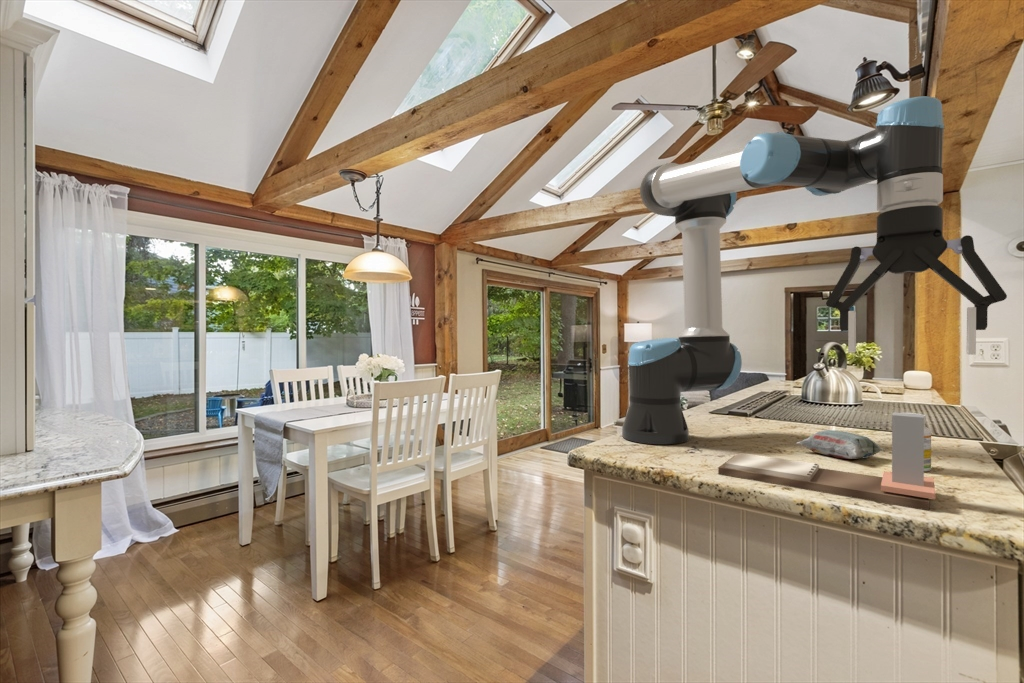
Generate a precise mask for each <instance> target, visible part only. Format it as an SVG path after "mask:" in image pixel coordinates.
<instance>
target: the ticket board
mask: <svg viewBox="0 0 1024 683" xmlns="http://www.w3.org/2000/svg"><path fill="white" fill-rule="evenodd" d="M717 470H718V473H717V474H718V475H720V476H721V475H722V476H727V477H733V478H740V479H745V480H751V481H755V482H762V483H768V484H774V485H780V486H786V487H791V488H795V489H803V490H808V491H813V492H820V493H826V494H831V495H836V496H837V495H838V496H842V497H848V498H854V499H861V500H866V501H871V502H877V503H881V504H882V503H884V504H889V505H895V506H900V507H901V506H902V507H906V508H912V509H917V510H918V509H919V510H922V511H923V510H924V511H930V499H929V498H923V497H917V496H910V495H904V494H898V493H892V492H886V491H881V482H882V478H883V476H875V475H869V474H864V473H863V474H862V473H858V472H857V473H856V472H850V471H842V470H835V469H830V468H824V467H823V468H821V467H820V464H819V463H814V462H806V461H801V460H800V461H799V460H794V459H793V460H792V459H786V458H779V457H772V456H766V455H765V456H764V455H756V454H751V453H743V452H738V453H737V454H736V455H733V457H731V458H729V459H728V460H726V461H725V462H724V463H722V464H721V465H720V466H718V467H717Z"/></svg>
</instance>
